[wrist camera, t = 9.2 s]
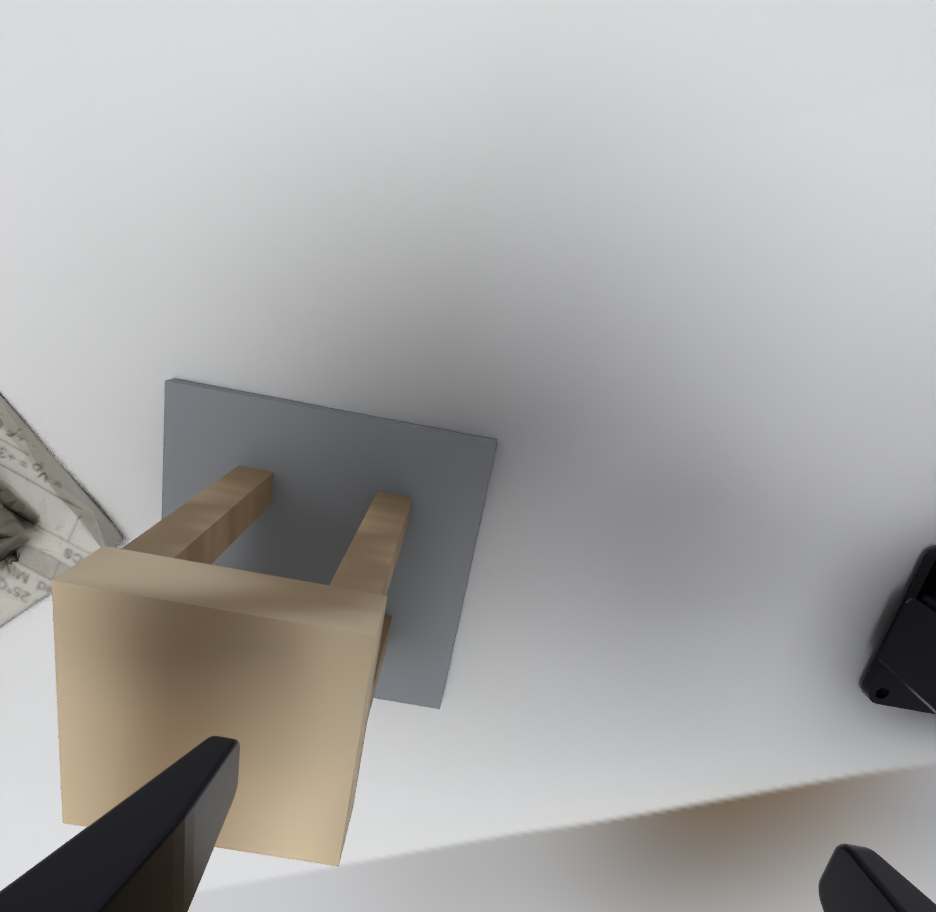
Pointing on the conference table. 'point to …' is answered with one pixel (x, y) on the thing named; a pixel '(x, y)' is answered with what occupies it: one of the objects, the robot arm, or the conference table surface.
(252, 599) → the stool
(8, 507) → the packaged product
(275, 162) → the conference table surface
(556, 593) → the conference table surface
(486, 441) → the mat
